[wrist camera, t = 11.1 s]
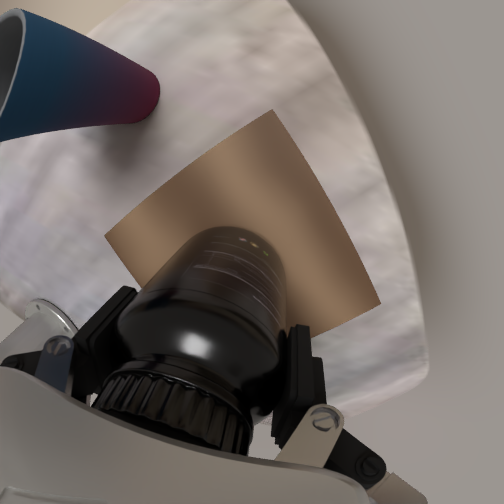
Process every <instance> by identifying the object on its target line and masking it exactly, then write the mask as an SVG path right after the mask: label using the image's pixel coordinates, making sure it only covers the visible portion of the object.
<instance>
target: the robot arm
mask: <svg viewBox="0 0 504 504" xmlns="http://www.w3.org/2000/svg"><path fill="white" fill-rule="evenodd" d="M137 293H138V292H137V291H136V289H135V288H132V287H128V286H122V287H121V288H120V289H119V290H118V291H117V292H116V293H115V294H114V295H113V296H112V297H111V298H110V299H109V300H108V301H107V302H106V303H105V304H104V305H103V306H102V307H101V308H100V309H99V310H98V311H97V312H96V313H95V314H94V315H93V316H92V317H91V318H90V319H89V320H88V321H87V322H86V323H85V324H84V325H83V326H82V327H81V329H80V330H79V331H77V329H76V328H75V326H74V325H73V324H72V322H71V321H70V320H69V319H68V318H67V317H66V316H65V315H64V314H63V313H62V312H61V311H60V310H59V309H58V308H56V307H55V306H54V305H52V304H51V303H49V302H47V301H44V300H42V299H35V300H33V301H31V302H30V303H29V304H28V305H27V307H26V310H25V318H26V321H24V322H23V323H22V324H21V325H20V326H19V327H18V328H16V329H15V330H14V331H13V332H12V333H11V334H10V335H9V336H8V337H7V338H6V339H4V340H3V341H2V342H1V343H0V504H428V502H427V500H426V497H425V496H424V495H423V494H421V493H420V492H418V491H417V490H416V489H414V488H413V487H412V486H410V485H409V484H408V483H406V482H405V481H404V480H402V479H401V478H400V477H398V476H397V475H396V474H395V473H391V474H390V473H389V472H387V471H386V464H385V462H384V460H383V459H382V458H381V457H380V456H379V455H377V454H376V453H375V452H373V451H372V450H371V449H369V448H368V447H367V446H365V445H364V444H363V443H361V442H360V441H359V440H357V439H356V438H355V437H353V436H352V435H351V434H350V433H348V432H347V431H346V430H345V429H343V426H344V417H343V415H342V414H341V412H340V411H339V410H338V409H336V408H335V407H333V406H330V405H327V402H326V391H325V381H324V371H323V362H322V358H319V357H312V351H311V339H310V327H309V326H306V325H300V324H296V326H295V327H292V326H291V328H290V331H289V334H288V337H287V367H286V383H285V387H284V391H283V394H282V397H281V399H280V401H279V403H278V404H277V406H276V407H275V409H274V410H273V418H272V429H271V437H275V444H277V445H279V448H280V449H281V452H280V453H279V454H278V456H277V457H276V458H275V460H268V459H261V458H254V457H248V456H243V455H238V454H232V453H227V452H222V451H218V450H213V449H209V448H205V447H201V446H197V445H193V444H189V443H186V442H182V441H179V440H176V439H172V438H169V437H166V436H163V435H160V434H157V433H154V432H151V431H148V430H145V429H142V428H140V427H137V426H134V425H132V424H129V423H127V422H124V421H122V420H119V419H117V418H115V417H112V416H110V415H108V414H105V413H103V412H101V411H99V410H97V409H94V408H92V407H90V398H91V395H92V394H93V393H96V394H98V395H99V393H100V392H101V390H102V385H103V382H104V380H105V378H106V377H107V375H108V374H109V373H110V371H111V370H112V366H111V363H110V357H109V339H110V334H111V330H112V327H113V325H114V323H115V321H116V319H117V318H118V316H119V315H120V313H121V312H122V310H123V309H124V308H125V307H126V306H127V305H128V303H129V302H130V301H131V300H132V299H133V298H134V297H135V296H136V295H137Z"/></svg>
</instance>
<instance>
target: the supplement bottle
mask: <svg viewBox="0 0 504 504" xmlns="http://www.w3.org/2000/svg"><path fill="white" fill-rule="evenodd" d="M109 357H110V363H111V366H112V370H111V371H110V373H109V374H108V375H107V377H106V378H105V380H104V382H103V385H102V390H101V392H100V393H99V395H98V396H97V398H96V399H95V401H94V402H93V404H92V406H91V407H92V408H94V409H97V410H99V411H101V412H103V413H105V414H108V415H110V416H112V417H115V418H117V419H119V420H122V421H124V422H127V423H129V424H132V425H134V426H137V427H140V428H142V429H145V430H148V431H151V432H154V433H157V434H160V435H163V436H166V437H169V438H172V439H176V440H179V441H182V442H186V443H189V444H193V445H197V446H201V447H205V448H209V449H213V450H218V451H222V452H227V453H232V454H238V455H243V456H248V453H249V446H250V444H251V442H252V438H253V430H254V425H256V424H258V423H259V422H261V421H262V420H264V419H265V418H266V417H267V416H268V415H269V414H270V413H271V412H272V411H273V410H274V409H275V407H276V406H277V404H278V403H279V401H280V399H281V397H282V394H283V391H284V387H285V383H286V367H287V290H286V276H285V271H284V267H283V264H282V262H281V260H280V258H279V256H278V254H277V253H276V251H275V250H274V249H273V248H272V246H271V245H270V244H269V243H268V242H266V241H265V240H264V239H263V238H261V237H260V236H258V235H257V234H255V233H253V232H251V231H248V230H245V229H242V228H238V227H232V226H218V227H213V228H209V229H206V230H203V231H201V232H199V233H197V234H196V235H194V236H193V237H191V238H190V239H189V240H188V241H187V242H186V243H185V244H184V245H182V246H181V247H180V248H179V249H178V251H177V252H176V253H175V254H174V255H173V256H172V257H171V258H170V259H169V260H168V261H167V262H166V263H165V264H164V265H163V266H162V267H161V268H160V269H159V271H158V272H157V273H156V274H155V275H154V276H153V277H152V278H151V279H150V280H149V281H148V282H147V284H146V285H145V286H144V287H143V288H142V289H141V290H140V291H139V292H138V293H137V295H136V296H135V297H134V298H133V299H132V300H131V301H130V302H129V303H128V305H127V306H126V307H125V308H124V309H123V310H122V312H121V313H120V315H119V316H118V318H117V319H116V321H115V323H114V325H113V327H112V330H111V334H110V339H109Z"/></svg>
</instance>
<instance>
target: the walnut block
mask: <svg viewBox="0 0 504 504" xmlns="http://www.w3.org/2000/svg"><path fill="white" fill-rule="evenodd" d="M218 226H232V227H238V228H242V229H245V230H248V231H251V232H253V233H255V234H257V235H258V236H260V237H261V238H263V239H264V240H265V241H266V242H268V243H269V244H270V245H271V246H272V248H273V249H274V250H275V251H276V253H277V254H278V256H279V258H280V260H281V262H282V264H283V267H284V271H285V276H286V290H287V337H288V334H289V331H290V328H291V326H292V327H295V326H296V324H300V325H306V326H309V327H310V338H312V337H315V336H317V335H319V334H321V333H324V332H326V331H328V330H330V329H332V328H334V327H336V326H339V325H341V324H343V323H345V322H347V321H349V320H351V319H353V318H355V317H357V316H359V315H361V314H363V313H365V312H367V311H369V310H371V309H373V308H374V307H376V306H378V305H380V304H381V302H380V300H379V298H378V296H377V293H376V291H375V289H374V287H373V284H372V282H371V280H370V278H369V276H368V274H367V272H366V269H365V267H364V265H363V263H362V261H361V259H360V257H359V255H358V253H357V251H356V249H355V247H354V245H353V243H352V241H351V239H350V237H349V235H348V233H347V231H346V230H345V228H344V226H343V224H342V222H341V220H340V218H339V216H338V215H337V213H336V211H335V209H334V207H333V206H332V204H331V202H330V200H329V198H328V197H327V195H326V193H325V191H324V190H323V188H322V186H321V185H320V183H319V181H318V179H317V178H316V176H315V174H314V173H313V171H312V169H311V168H310V166H309V164H308V163H307V161H306V160H305V158H304V156H303V155H302V153H301V152H300V150H299V148H298V147H297V145H296V144H295V142H294V141H293V139H292V138H291V136H290V134H289V133H288V131H287V130H286V128H285V127H284V125H283V124H282V122H281V121H280V120H279V118H278V117H277V115H276V114H275V112H274V111H273V109H272V110H270V111H268V112H267V113H265V114H263V115H262V116H260V117H259V118H257V119H255V120H254V121H252V122H251V123H249V124H247V125H246V126H244V127H243V128H241V129H240V130H238V131H237V132H235V133H234V134H232V135H231V136H229V137H228V138H226V139H225V140H223V141H222V142H220V143H219V144H217V145H216V146H214V147H213V148H212V149H210V150H209V151H207V152H206V153H205V154H203V155H202V156H200V157H199V158H198V159H196V160H195V161H194V162H192V163H191V164H189V165H188V166H187V167H185V168H184V169H183V170H181V171H180V172H179V173H178V174H176V175H175V176H174V177H172V178H171V179H170V180H168V181H167V182H166V183H165V184H163V185H162V186H161V187H160V188H158V189H157V190H156V191H155V192H153V193H152V194H151V195H150V196H149V197H147V198H146V199H145V200H144V201H143V202H141V203H140V204H139V205H138V206H137V207H136V208H134V209H133V210H132V211H131V212H130V213H129V214H127V215H126V216H125V217H124V218H123V219H122V220H121V221H120V222H118V223H117V224H116V225H115V226H114V227H113V228H112V229H111V230H110V231H109V232H107V233H106V234H105V235H104V236H105V238H106V239H107V241H108V242H109V244H110V245H111V247H112V248H113V250H114V251H115V252H116V254H117V255H118V257H119V258H120V260H121V261H122V262H123V264H124V265H125V266H126V268H127V269H128V271H129V272H130V273H131V275H132V276H133V277H134V279H135V280H136V281H137V283H138V284H139V285H140V287H141V288H143V287H144V286H145V285H146V284H147V282H148V281H149V280H150V279H151V278H152V277H153V276H154V275H155V274H156V273H157V272H158V271H159V269H160V268H161V267H162V266H163V265H164V264H165V263H166V262H167V261H168V260H169V259H170V258H171V257H172V256H173V255H174V254H175V253H176V252H177V251H178V249H179V248H180V247H181V246H182V245H184V244H185V243H186V242H187V241H188V240H189V239H190V238H191V237H193V236H194V235H196V234H197V233H199V232H201V231H203V230H206V229H209V228H213V227H218Z"/></svg>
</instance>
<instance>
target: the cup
mask: <svg viewBox="0 0 504 504" xmlns="http://www.w3.org/2000/svg"><path fill="white" fill-rule="evenodd" d="M159 95H160V86H159V82H158V79H157V78H156V76H155V75H154V74H153V73H152V72H150V71H149V70H147V69H145V68H144V67H142V66H140V65H139V64H137V63H135V62H133V61H132V60H130V59H128V58H126V57H125V56H123V55H121V54H119V53H117V52H115V51H114V50H112V49H110V48H108V47H106V46H104V45H102V44H100V43H98V42H96V41H94V40H92V39H90V38H88V37H86V36H84V35H82V34H80V33H78V32H76V31H74V30H71V29H69V28H67V27H65V26H62V25H60V24H58V23H56V22H53V21H51V20H48V19H46V18H43V17H41V16H38V15H36V14H33V13H30V12H27V11H25V10H22V9H18V8H14V9H11V10H9V11H7V12H5V13H4V14H2V15H1V16H0V142H2V141H6V140H10V139H15V138H19V137H24V136H29V135H34V134H40V133H45V132H51V131H58V130H65V129H72V128H80V127H89V126H100V125H112V124H128V123H136V122H139V121H141V120H143V119H145V118H146V117H147V116H148V115H149V114H150V113H151V112H152V111H153V109H154V108H155V106H156V104H157V102H158V99H159Z"/></svg>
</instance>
